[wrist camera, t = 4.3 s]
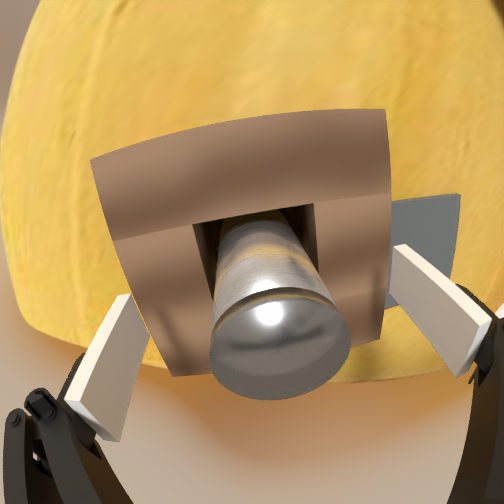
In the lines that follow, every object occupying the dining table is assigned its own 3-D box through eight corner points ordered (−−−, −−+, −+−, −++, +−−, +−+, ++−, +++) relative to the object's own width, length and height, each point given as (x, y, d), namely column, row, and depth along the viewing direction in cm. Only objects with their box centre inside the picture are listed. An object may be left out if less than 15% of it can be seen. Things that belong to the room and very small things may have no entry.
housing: (123, 152, 17) (89, 159, 12) (349, 113, 16) (385, 109, 12) (180, 335, 23) (172, 376, 19) (356, 303, 23) (379, 339, 19)
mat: (369, 204, 19) (372, 206, 19) (456, 193, 19) (460, 195, 19) (365, 309, 23) (368, 313, 23) (444, 285, 23) (447, 288, 23)
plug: (214, 209, 19) (190, 316, 8) (285, 196, 19) (354, 286, 8) (228, 272, 21) (227, 407, 10) (292, 260, 21) (346, 384, 10)
